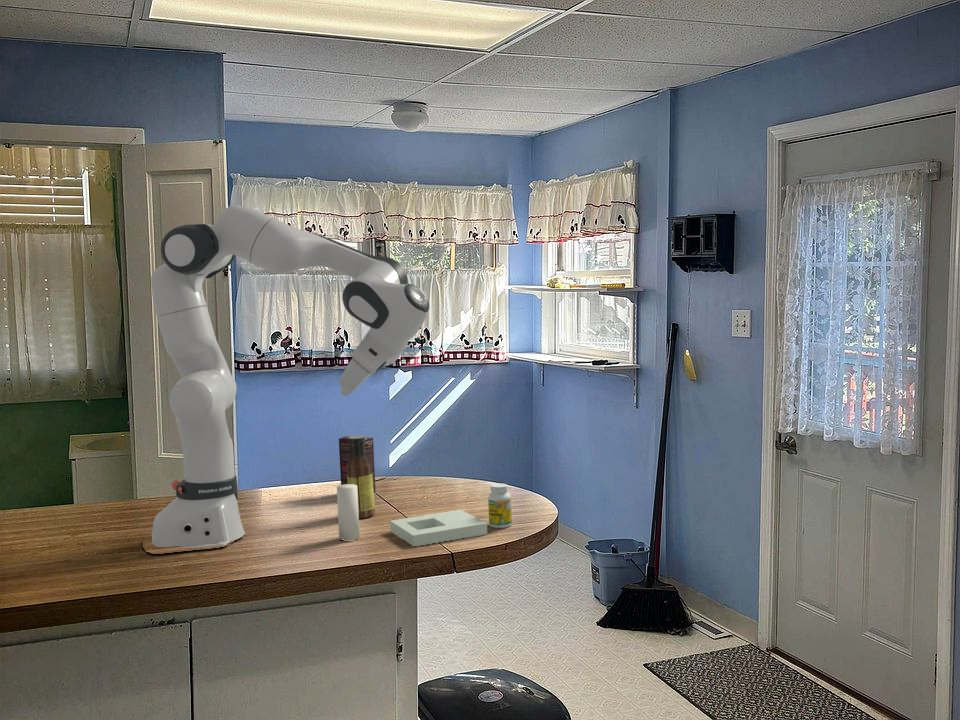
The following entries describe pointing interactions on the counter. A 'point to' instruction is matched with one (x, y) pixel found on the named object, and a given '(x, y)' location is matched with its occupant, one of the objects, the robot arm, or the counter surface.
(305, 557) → the counter surface
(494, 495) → the supplement bottle
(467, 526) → the socket board
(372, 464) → the supplement box
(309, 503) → the counter surface
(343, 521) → the peg
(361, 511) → the sauce bottle
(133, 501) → the counter surface
